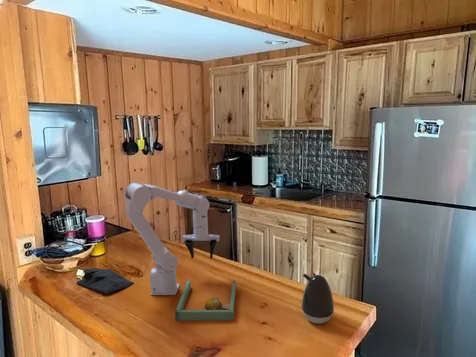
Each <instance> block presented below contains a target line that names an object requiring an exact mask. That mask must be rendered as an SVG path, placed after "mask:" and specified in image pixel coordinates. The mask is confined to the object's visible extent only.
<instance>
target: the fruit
mask: <svg viewBox="0 0 476 357" xmlns="http://www.w3.org/2000/svg"><path fill="white" fill-rule="evenodd" d="M228 308H229V309H230V303H229V304H222V302H221V301H220V299H219V298H217V297H215V296H214V297H211V298H209V299H208V300H206V301H205V304H204V310H229V309H228Z"/></svg>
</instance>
